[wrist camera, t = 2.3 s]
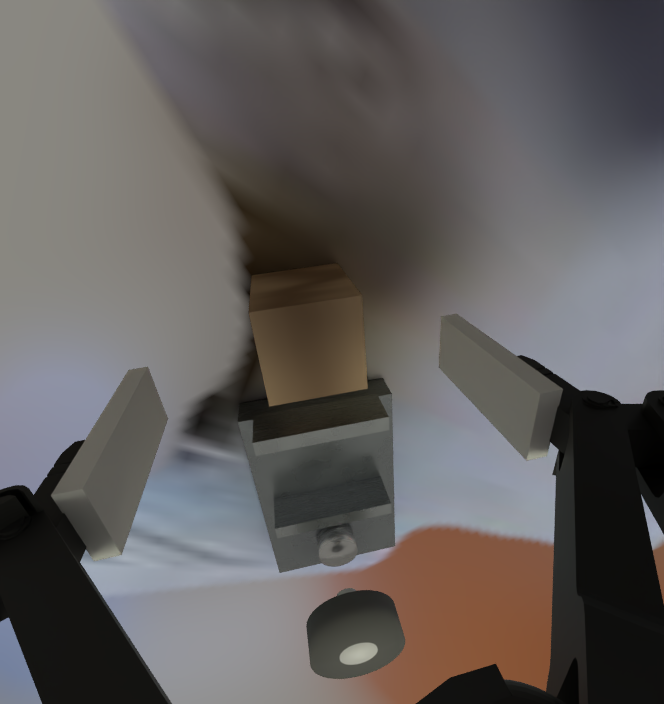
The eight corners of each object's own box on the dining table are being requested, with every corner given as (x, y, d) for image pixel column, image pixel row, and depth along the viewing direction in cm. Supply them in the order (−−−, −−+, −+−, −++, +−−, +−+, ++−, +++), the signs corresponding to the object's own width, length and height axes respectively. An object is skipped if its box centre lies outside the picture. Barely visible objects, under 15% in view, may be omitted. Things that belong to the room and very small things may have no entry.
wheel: (386, 558, 24) (405, 616, 21) (388, 607, 27) (405, 664, 24) (298, 579, 24) (304, 642, 21) (309, 627, 26) (316, 688, 23)
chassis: (382, 375, 25) (405, 413, 21) (387, 525, 33) (405, 574, 29) (238, 400, 24) (234, 446, 20) (278, 550, 32) (281, 604, 28)
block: (336, 263, 21) (362, 295, 16) (343, 338, 24) (367, 388, 18) (251, 275, 21) (248, 312, 15) (267, 351, 23) (269, 406, 18)
